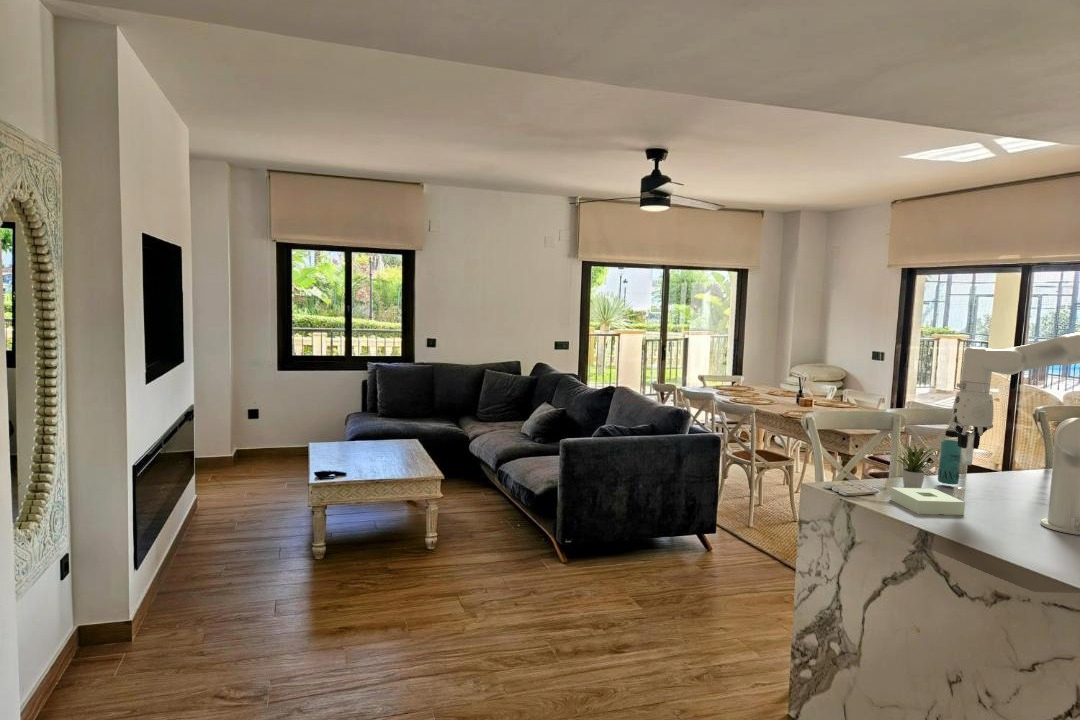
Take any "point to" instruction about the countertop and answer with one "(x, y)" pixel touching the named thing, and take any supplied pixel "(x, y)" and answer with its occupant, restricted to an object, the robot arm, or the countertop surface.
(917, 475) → the house plant
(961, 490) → the short pin
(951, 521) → the countertop surface
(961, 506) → the hole block
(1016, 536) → the countertop surface
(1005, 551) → the countertop surface
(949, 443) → the beverage bottle
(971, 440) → the tall pin
